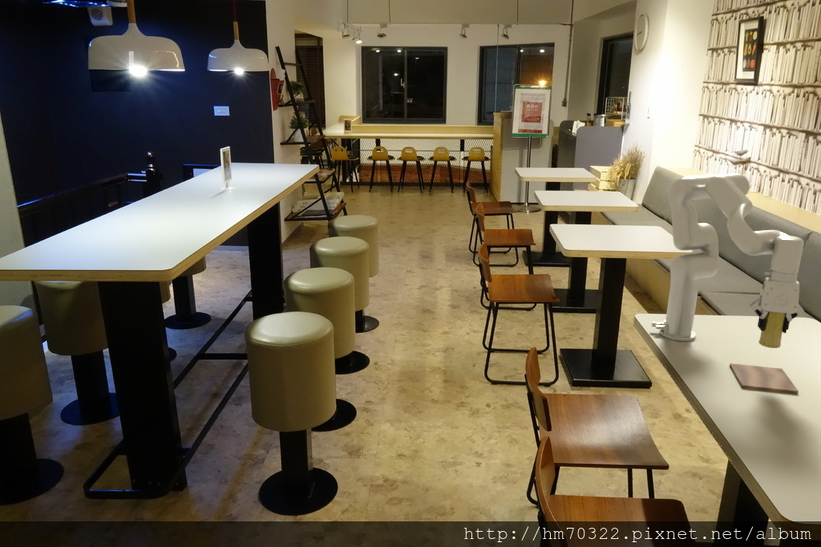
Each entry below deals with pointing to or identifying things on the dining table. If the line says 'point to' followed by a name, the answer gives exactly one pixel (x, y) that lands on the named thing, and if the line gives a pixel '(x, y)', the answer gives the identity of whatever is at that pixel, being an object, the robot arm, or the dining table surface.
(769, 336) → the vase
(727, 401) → the dining table surface
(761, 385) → the coaster board
